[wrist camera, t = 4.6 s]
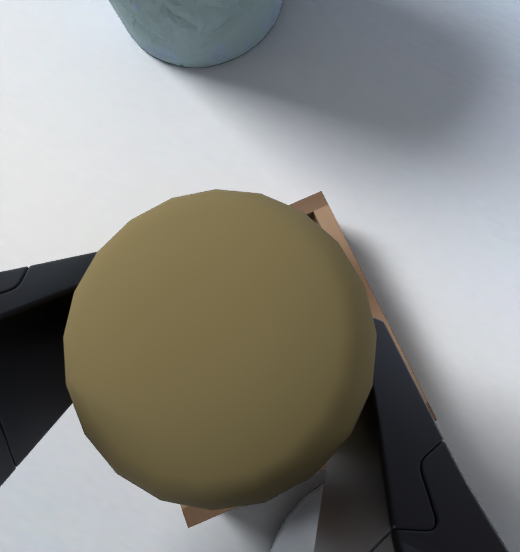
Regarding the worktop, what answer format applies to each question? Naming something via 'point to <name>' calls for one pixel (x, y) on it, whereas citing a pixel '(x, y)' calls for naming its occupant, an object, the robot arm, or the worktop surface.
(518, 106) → the worktop surface
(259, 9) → the green cup
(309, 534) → the coaster
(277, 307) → the cork
